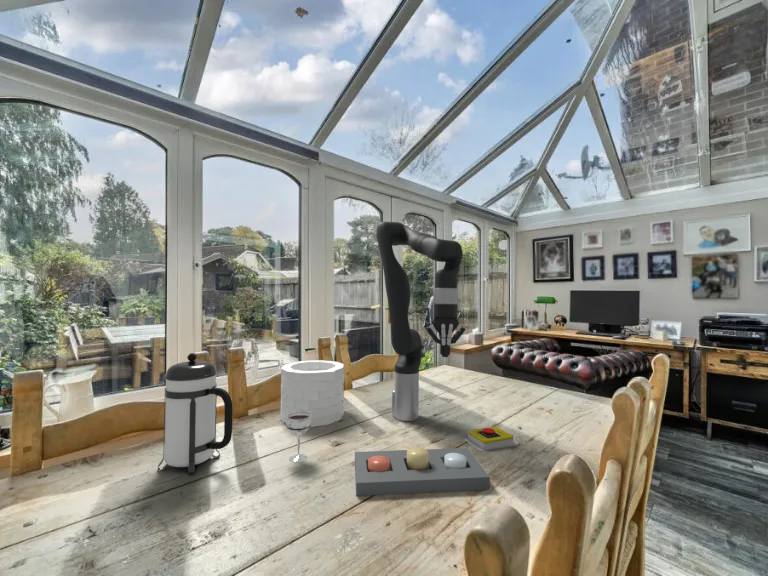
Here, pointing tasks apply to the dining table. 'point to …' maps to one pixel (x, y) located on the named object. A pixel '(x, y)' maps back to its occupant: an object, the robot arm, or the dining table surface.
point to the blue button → (454, 460)
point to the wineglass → (298, 430)
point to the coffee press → (193, 414)
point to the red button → (378, 464)
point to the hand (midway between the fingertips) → (445, 356)
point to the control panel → (418, 474)
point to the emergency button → (490, 438)
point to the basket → (313, 390)
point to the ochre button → (417, 458)
